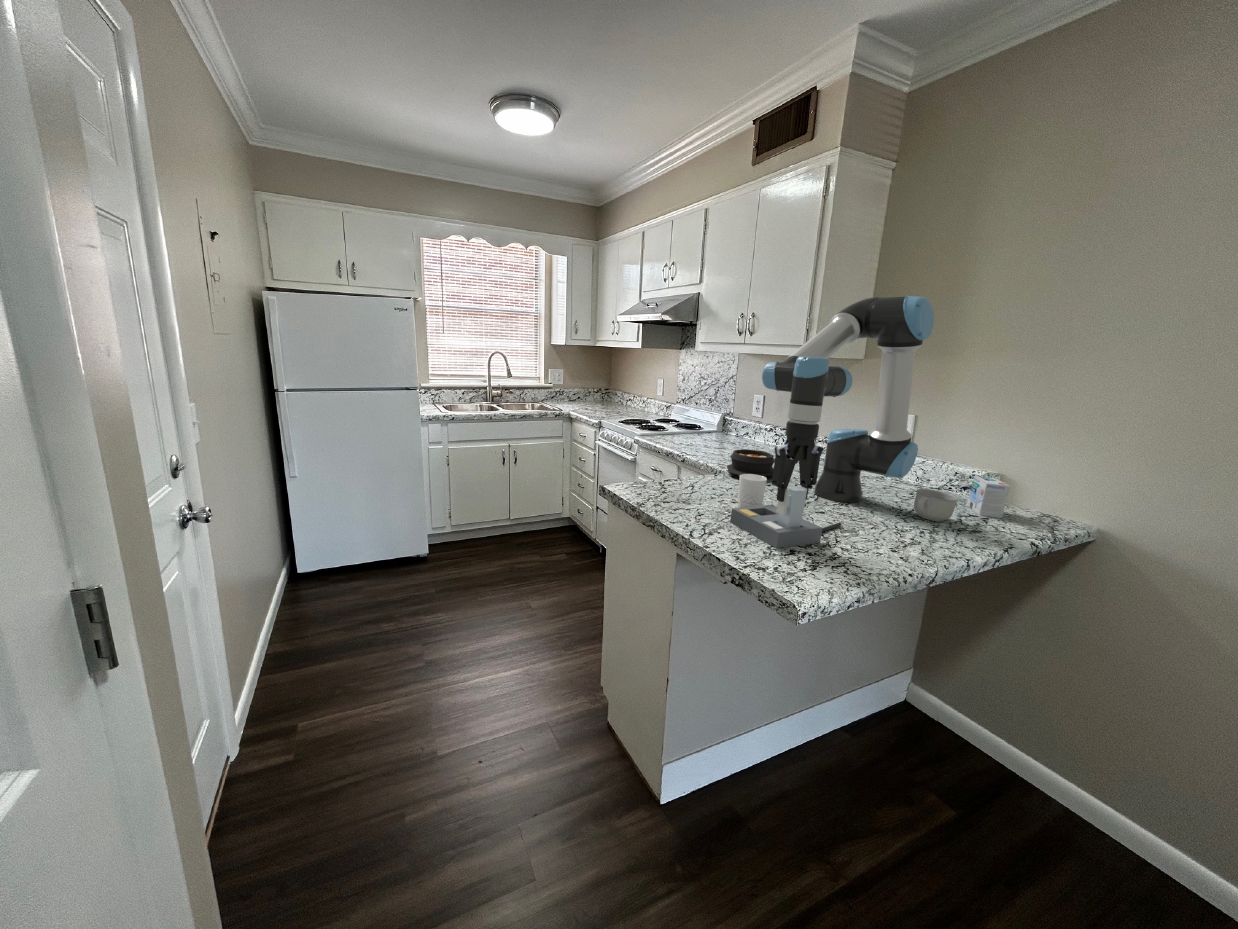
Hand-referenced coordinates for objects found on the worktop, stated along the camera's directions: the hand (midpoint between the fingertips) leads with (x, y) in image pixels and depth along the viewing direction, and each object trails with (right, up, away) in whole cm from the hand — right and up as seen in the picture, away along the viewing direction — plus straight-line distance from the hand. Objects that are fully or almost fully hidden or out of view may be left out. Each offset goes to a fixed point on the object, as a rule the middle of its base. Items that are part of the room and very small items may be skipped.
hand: (789, 512), depth 129 cm
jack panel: (-2, -6, +6) cm, 9 cm away
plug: (0, -5, +1) cm, 6 cm away
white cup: (-4, -2, +25) cm, 25 cm away
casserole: (+8, +8, +69) cm, 70 cm away
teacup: (+51, -5, +26) cm, 58 cm away
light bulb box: (+76, -4, +37) cm, 84 cm away
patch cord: (+13, -6, +9) cm, 17 cm away
